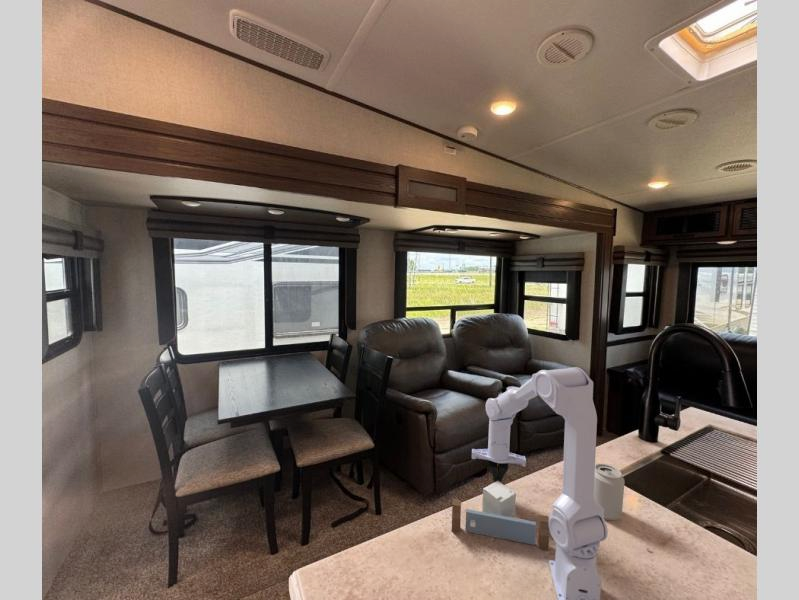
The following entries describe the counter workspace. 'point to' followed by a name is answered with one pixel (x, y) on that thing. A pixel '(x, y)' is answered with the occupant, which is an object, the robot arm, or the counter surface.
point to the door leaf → (501, 526)
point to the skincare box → (499, 500)
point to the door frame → (542, 527)
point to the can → (609, 490)
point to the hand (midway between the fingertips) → (496, 484)
